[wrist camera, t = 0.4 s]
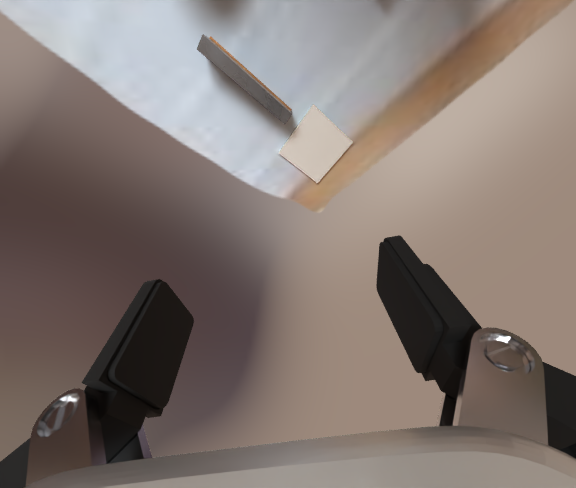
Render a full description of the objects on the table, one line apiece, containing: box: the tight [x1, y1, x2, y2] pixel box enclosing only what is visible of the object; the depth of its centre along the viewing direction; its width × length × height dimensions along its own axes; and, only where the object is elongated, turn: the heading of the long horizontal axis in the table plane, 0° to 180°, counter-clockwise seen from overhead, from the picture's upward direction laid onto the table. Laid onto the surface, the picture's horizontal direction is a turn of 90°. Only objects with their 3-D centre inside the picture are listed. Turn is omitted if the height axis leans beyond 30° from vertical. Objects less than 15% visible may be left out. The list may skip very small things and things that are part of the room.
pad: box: [279, 104, 353, 183], centre depth 34 cm, size 8×8×1 cm
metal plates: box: [197, 35, 292, 124], centre depth 24 cm, size 18×12×4 cm, turn 142°
